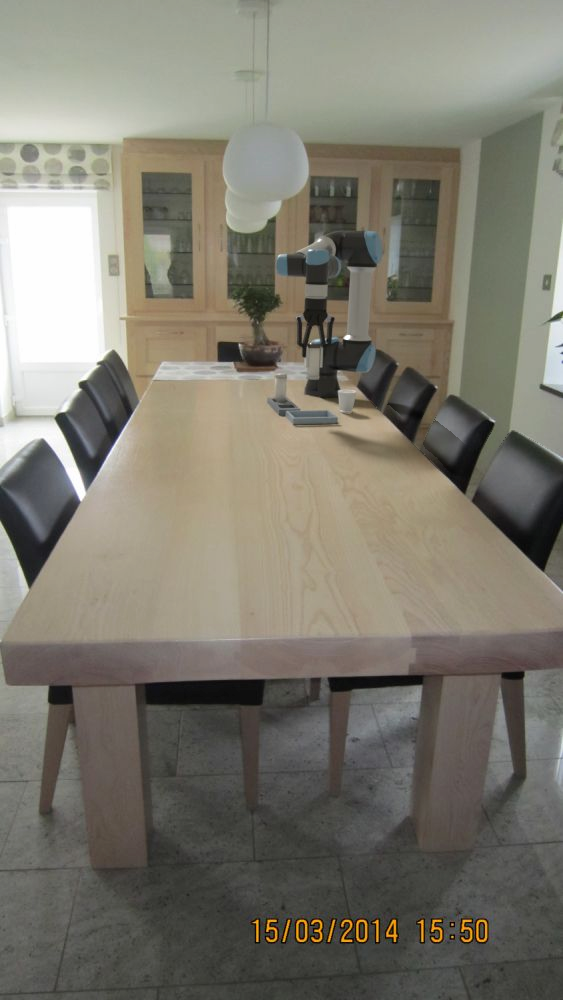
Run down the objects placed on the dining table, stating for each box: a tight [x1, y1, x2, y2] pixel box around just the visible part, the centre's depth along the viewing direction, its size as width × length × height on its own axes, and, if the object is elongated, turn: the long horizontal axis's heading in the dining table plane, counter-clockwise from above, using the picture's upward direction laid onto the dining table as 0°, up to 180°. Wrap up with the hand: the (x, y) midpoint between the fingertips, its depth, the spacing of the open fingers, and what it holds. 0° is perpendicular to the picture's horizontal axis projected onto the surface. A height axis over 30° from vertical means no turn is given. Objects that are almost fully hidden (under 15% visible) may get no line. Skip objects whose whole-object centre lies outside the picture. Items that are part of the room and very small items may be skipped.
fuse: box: [274, 372, 288, 402], centre depth 285 cm, size 5×5×12 cm
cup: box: [337, 389, 357, 415], centre depth 281 cm, size 7×10×8 cm
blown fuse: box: [305, 342, 321, 380], centre depth 259 cm, size 5×5×12 cm
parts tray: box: [285, 409, 339, 426], centre depth 266 cm, size 16×12×2 cm
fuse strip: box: [266, 396, 302, 416], centre depth 282 cm, size 8×22×2 cm, turn 12°
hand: (313, 366), depth 260 cm, fingers closed on blown fuse, 4 cm apart
